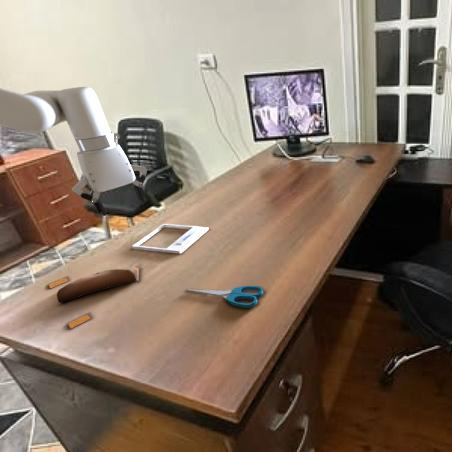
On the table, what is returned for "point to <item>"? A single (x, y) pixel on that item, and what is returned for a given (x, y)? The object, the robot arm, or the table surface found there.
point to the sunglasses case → (97, 283)
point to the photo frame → (178, 244)
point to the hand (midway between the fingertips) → (123, 207)
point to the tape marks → (77, 321)
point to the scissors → (236, 295)
